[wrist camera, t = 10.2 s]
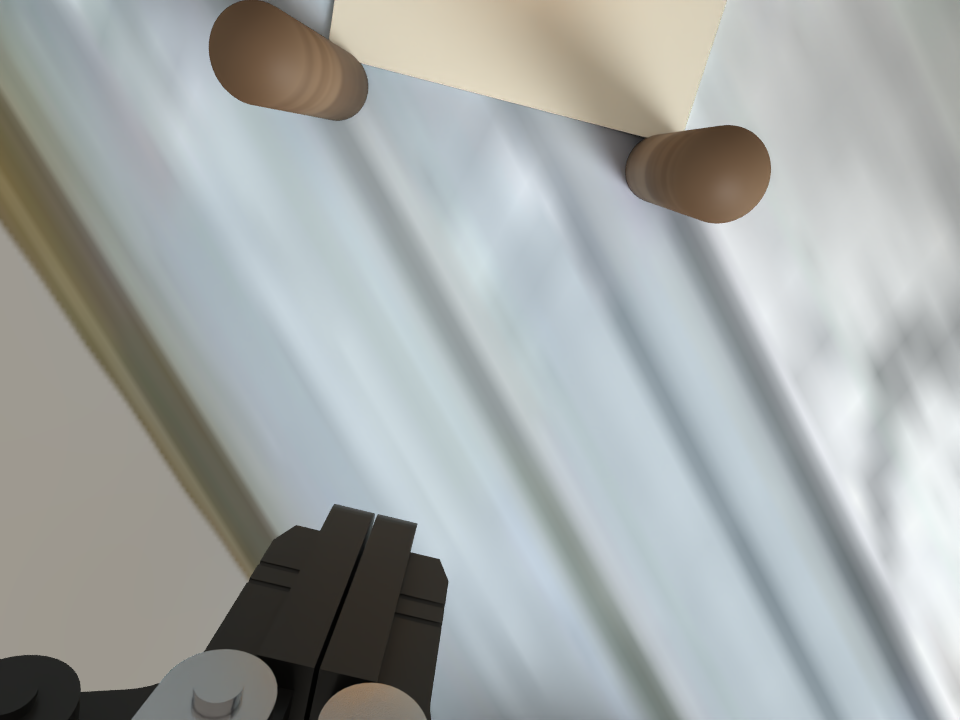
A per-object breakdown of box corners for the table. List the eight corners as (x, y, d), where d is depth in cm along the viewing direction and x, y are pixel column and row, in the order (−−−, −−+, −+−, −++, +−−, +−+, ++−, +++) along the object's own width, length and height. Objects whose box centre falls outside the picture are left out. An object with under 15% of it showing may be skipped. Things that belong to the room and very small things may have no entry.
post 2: (701, 143, 25) (785, 138, 17) (679, 209, 26) (750, 233, 18) (637, 126, 25) (693, 114, 17) (617, 193, 25) (661, 210, 18)
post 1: (373, 57, 24) (310, 13, 17) (361, 128, 25) (296, 116, 18) (307, 40, 24) (214, -12, 17) (297, 111, 25) (204, 92, 17)
